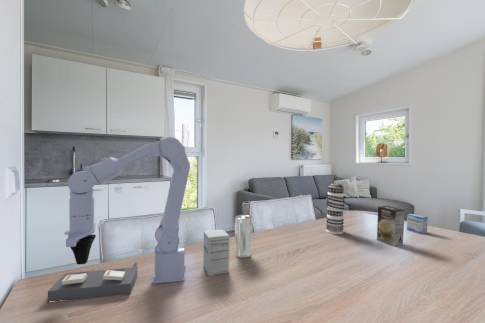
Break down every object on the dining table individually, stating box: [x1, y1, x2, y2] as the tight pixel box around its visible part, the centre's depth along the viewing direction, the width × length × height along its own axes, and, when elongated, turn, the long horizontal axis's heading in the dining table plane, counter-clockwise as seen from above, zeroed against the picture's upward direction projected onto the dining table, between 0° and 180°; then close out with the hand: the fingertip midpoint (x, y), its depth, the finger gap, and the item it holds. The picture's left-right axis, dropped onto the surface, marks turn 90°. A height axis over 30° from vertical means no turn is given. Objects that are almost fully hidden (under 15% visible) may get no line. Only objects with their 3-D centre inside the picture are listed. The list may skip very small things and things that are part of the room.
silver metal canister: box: [234, 214, 253, 259], centre depth 96 cm, size 7×7×15 cm
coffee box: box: [376, 205, 406, 247], centre depth 113 cm, size 9×6×16 cm
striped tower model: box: [325, 182, 346, 235], centre depth 128 cm, size 9×9×25 cm
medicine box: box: [406, 213, 429, 235], centre depth 131 cm, size 8×4×9 cm, turn 25°
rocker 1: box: [62, 273, 87, 285], centre depth 68 cm, size 5×3×1 cm, turn 103°
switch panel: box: [47, 262, 138, 302], centre depth 75 cm, size 20×18×3 cm
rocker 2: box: [103, 269, 125, 280], centre depth 70 cm, size 5×3×1 cm, turn 104°
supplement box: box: [203, 228, 230, 276], centre depth 84 cm, size 7×7×13 cm
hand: (82, 263), depth 68 cm, fingers closed
